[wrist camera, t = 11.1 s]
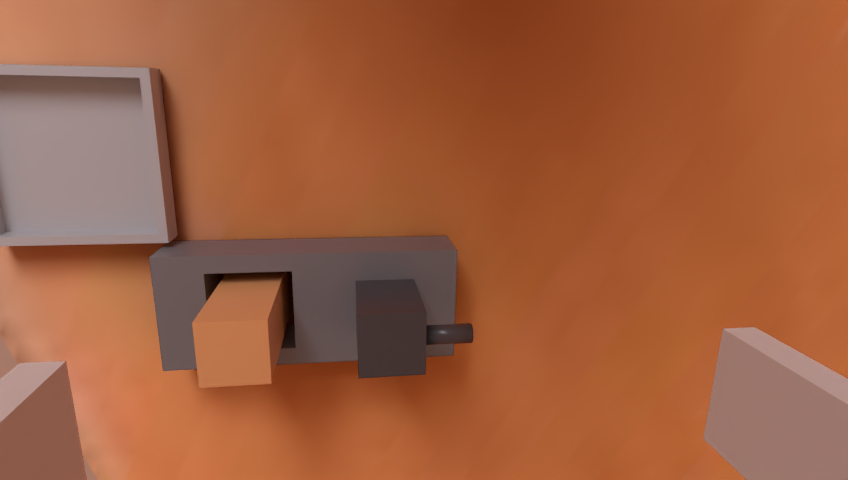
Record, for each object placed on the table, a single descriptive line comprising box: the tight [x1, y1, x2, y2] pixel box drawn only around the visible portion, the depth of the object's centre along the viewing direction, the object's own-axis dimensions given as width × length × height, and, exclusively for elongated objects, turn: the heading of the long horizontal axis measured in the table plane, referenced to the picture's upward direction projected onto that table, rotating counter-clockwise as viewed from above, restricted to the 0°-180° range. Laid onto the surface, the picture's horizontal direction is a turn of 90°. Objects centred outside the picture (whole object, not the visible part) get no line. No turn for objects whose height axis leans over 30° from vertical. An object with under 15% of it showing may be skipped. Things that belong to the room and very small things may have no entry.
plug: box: [192, 271, 289, 388], centre depth 34 cm, size 4×4×10 cm
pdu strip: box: [149, 236, 473, 378], centre depth 35 cm, size 8×20×10 cm, turn 89°
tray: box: [0, 64, 178, 246], centre depth 34 cm, size 11×11×2 cm
